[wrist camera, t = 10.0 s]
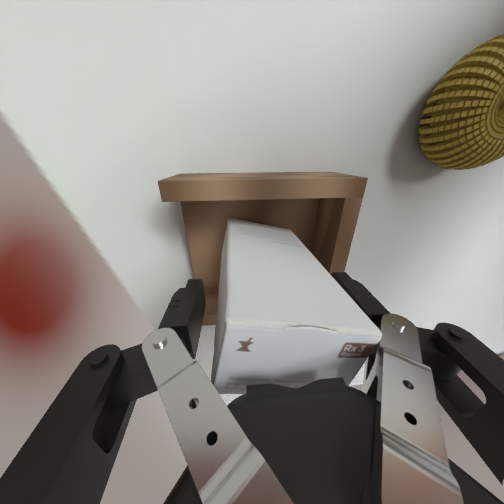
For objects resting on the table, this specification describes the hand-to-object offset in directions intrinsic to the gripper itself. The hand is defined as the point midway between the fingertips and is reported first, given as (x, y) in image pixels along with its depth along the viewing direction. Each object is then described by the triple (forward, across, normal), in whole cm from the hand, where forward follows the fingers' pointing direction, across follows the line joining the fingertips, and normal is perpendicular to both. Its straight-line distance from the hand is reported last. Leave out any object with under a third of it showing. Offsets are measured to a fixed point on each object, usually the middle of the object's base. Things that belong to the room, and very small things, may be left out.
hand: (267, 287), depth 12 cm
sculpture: (+9, -16, -10) cm, 21 cm away
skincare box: (+7, 0, 0) cm, 7 cm away
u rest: (+8, 0, 0) cm, 8 cm away
